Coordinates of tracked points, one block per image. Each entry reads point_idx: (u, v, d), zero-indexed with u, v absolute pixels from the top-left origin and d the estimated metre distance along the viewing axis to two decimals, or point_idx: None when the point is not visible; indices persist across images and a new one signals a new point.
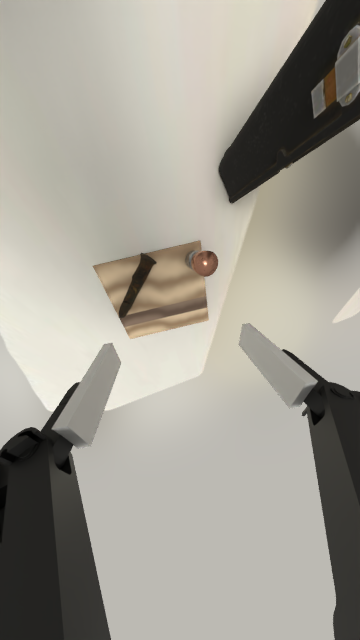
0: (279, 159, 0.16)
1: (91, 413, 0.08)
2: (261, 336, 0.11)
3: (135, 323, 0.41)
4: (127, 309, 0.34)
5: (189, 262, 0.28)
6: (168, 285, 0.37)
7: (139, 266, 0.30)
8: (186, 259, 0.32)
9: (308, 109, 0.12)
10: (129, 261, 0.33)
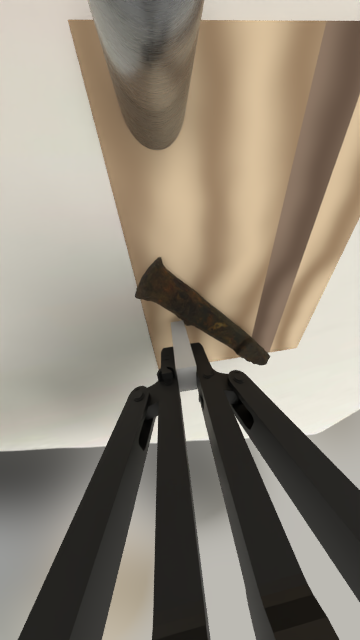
0: None
1: None
2: (183, 331, 0.13)
3: (272, 334, 0.20)
4: (257, 349, 0.15)
5: (141, 2, 0.04)
6: (220, 236, 0.12)
7: (165, 306, 0.12)
8: (145, 122, 0.07)
9: None
10: (153, 321, 0.16)
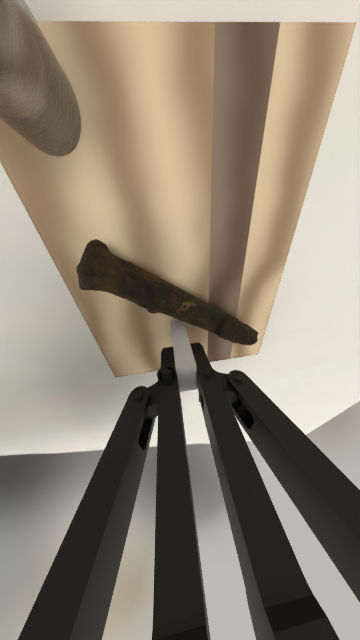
0: None
1: None
2: (183, 331, 0.13)
3: None
4: (239, 325, 0.13)
5: None
6: (150, 244, 0.12)
7: (118, 293, 0.10)
8: (18, 129, 0.07)
9: None
10: (97, 328, 0.16)
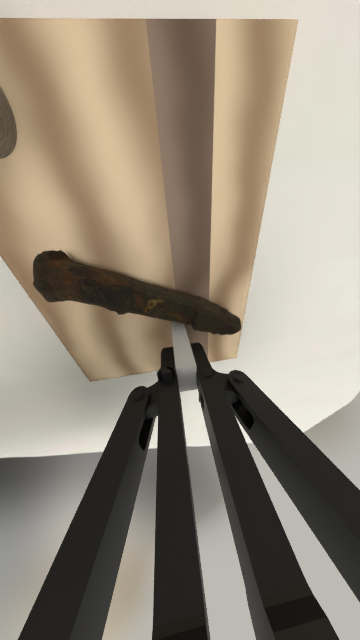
0: None
1: None
2: (183, 331, 0.13)
3: (204, 344, 0.19)
4: (214, 317, 0.12)
5: None
6: (107, 248, 0.12)
7: (82, 301, 0.11)
8: None
9: None
10: (64, 333, 0.15)
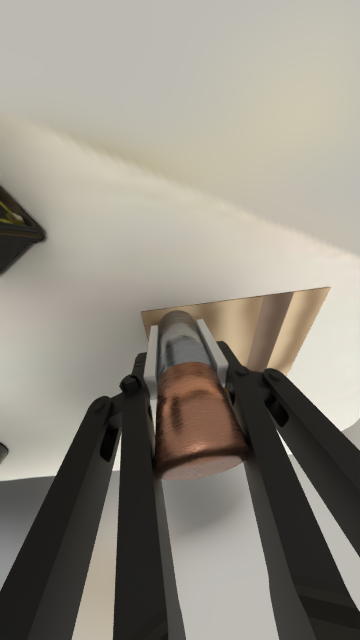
0: None
1: None
2: (205, 329, 0.12)
3: None
4: None
5: None
6: None
7: None
8: None
9: None
10: None
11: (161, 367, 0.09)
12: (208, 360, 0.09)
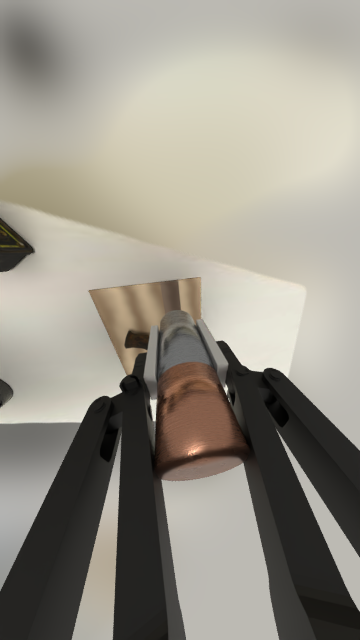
0: None
1: None
2: (205, 329, 0.12)
3: None
4: None
5: None
6: (143, 326, 0.32)
7: (137, 347, 0.31)
8: None
9: None
10: (121, 355, 0.36)
11: (161, 367, 0.09)
12: (208, 360, 0.09)
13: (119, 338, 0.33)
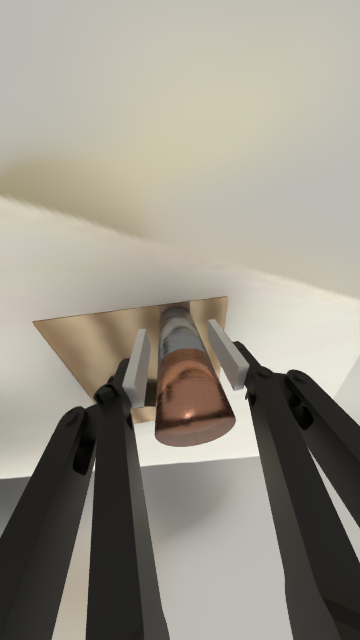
0: None
1: (142, 381, 0.10)
2: (220, 330, 0.12)
3: None
4: None
5: None
6: None
7: None
8: None
9: None
10: None
11: (161, 354, 0.10)
12: (203, 348, 0.10)
13: (96, 386, 0.22)
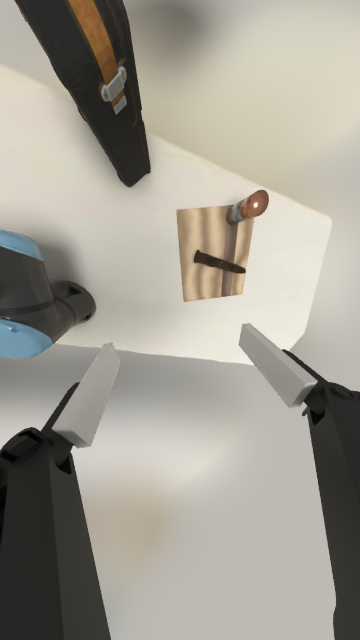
0: (137, 126, 0.20)
1: (91, 413, 0.08)
2: (261, 336, 0.11)
3: (230, 286, 0.49)
4: (238, 266, 0.42)
5: (242, 220, 0.34)
6: (207, 248, 0.42)
7: (203, 262, 0.41)
8: (233, 223, 0.38)
9: (120, 109, 0.16)
10: (184, 277, 0.46)
11: (241, 202, 0.31)
12: None
13: (187, 259, 0.43)
